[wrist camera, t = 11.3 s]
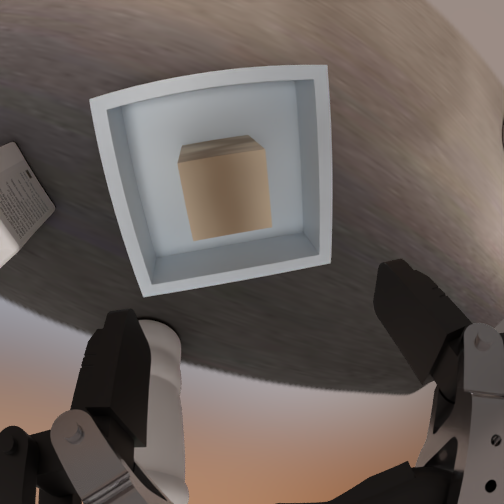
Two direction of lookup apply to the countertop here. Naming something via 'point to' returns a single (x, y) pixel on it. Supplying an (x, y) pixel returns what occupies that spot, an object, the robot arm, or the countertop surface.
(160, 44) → the countertop surface
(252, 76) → the gray bin
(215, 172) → the maple block
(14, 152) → the container
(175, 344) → the water bottle
